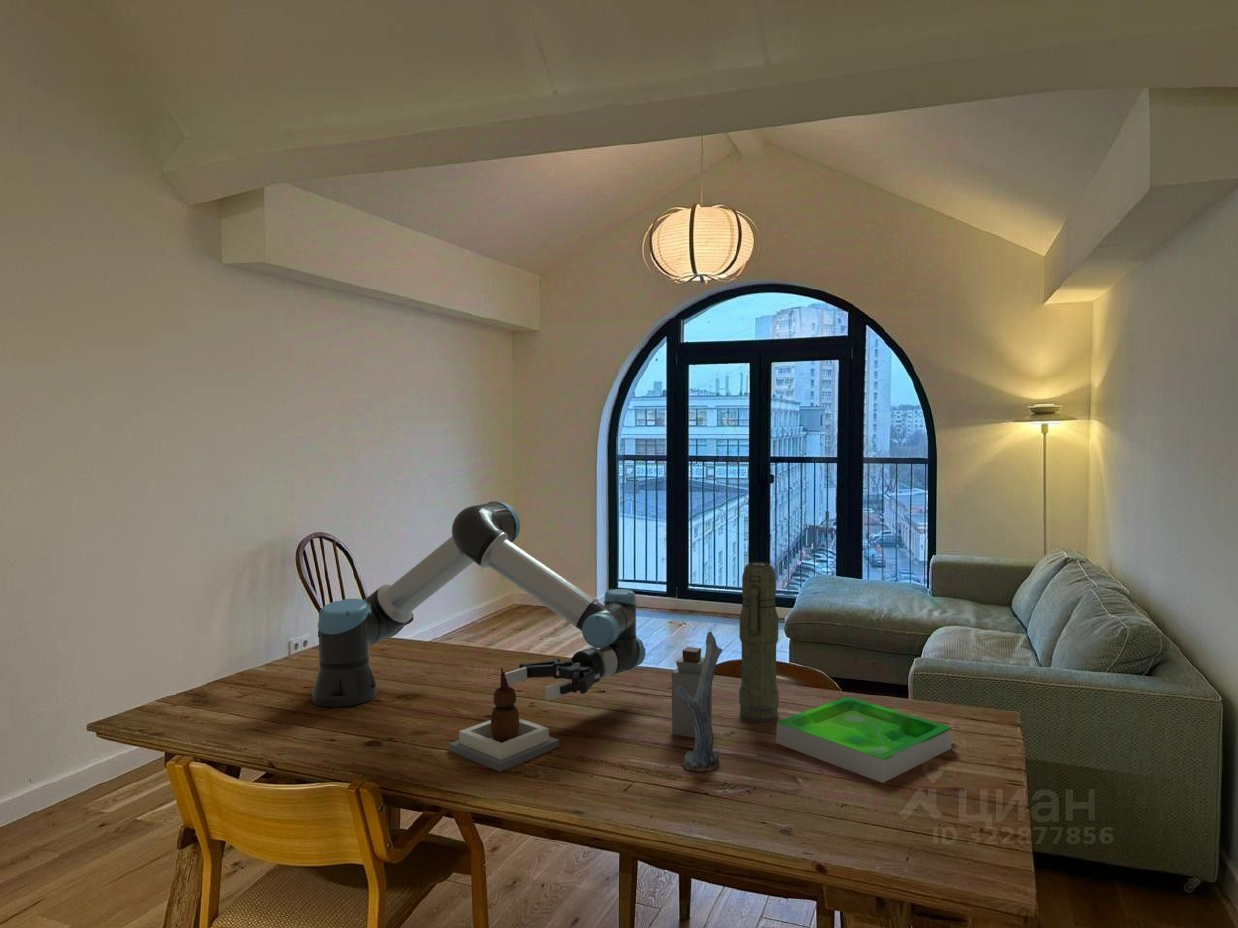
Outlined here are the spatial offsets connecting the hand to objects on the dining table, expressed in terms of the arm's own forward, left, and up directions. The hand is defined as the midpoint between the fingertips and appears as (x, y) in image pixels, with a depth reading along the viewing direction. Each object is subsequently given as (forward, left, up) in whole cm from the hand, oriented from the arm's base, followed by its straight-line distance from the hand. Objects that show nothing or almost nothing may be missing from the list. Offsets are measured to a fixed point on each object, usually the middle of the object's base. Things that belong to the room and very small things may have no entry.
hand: (524, 686), depth 168 cm
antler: (+35, +16, -12) cm, 40 cm away
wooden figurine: (0, -5, -10) cm, 12 cm away
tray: (+56, +44, -12) cm, 72 cm away
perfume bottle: (+24, +28, -12) cm, 38 cm away
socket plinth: (0, -5, -12) cm, 13 cm away
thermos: (+30, +46, -12) cm, 56 cm away
